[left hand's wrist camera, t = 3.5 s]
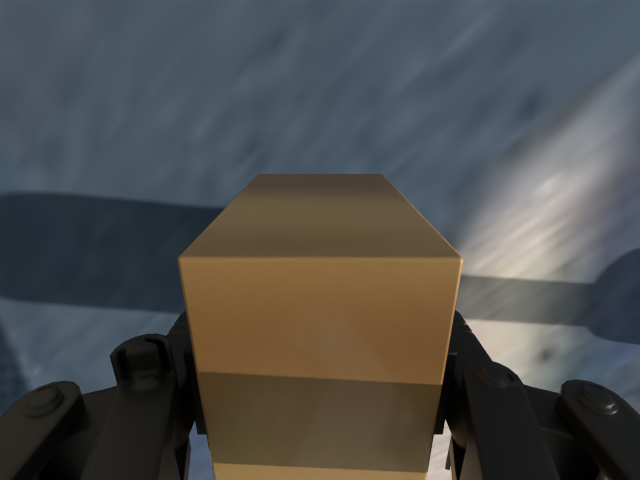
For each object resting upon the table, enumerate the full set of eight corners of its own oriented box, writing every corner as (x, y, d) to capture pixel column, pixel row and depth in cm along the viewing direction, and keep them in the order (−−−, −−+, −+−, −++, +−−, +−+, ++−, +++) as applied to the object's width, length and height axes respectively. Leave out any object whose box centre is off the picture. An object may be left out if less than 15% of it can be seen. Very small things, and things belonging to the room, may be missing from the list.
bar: (257, 173, 14) (174, 257, 6) (383, 173, 14) (465, 257, 6) (281, 538, 22) (261, 764, 14) (358, 537, 22) (379, 765, 14)
